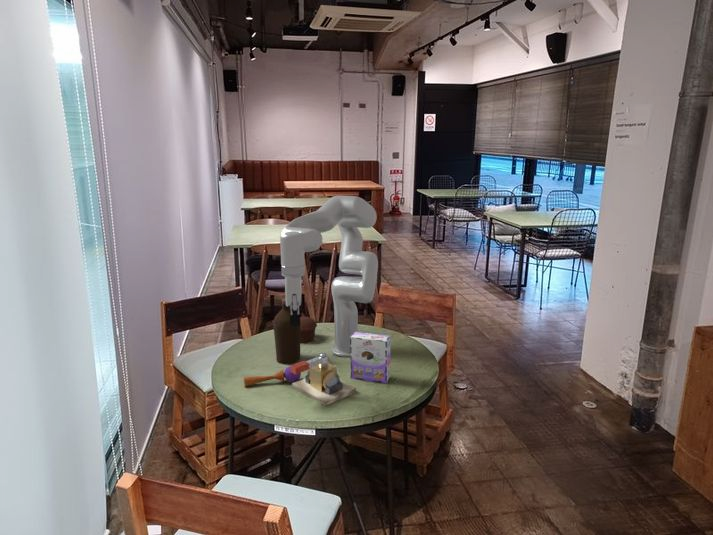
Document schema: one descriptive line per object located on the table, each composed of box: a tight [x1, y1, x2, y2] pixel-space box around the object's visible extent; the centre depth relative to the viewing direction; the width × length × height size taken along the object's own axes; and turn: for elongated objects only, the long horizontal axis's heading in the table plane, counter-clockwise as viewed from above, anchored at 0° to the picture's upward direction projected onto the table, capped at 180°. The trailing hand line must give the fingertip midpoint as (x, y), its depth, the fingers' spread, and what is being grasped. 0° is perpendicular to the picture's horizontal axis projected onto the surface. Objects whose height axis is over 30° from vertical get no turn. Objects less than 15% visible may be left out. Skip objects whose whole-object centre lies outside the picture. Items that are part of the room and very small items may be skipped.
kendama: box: [243, 365, 302, 387], centre depth 176 cm, size 6×6×20 cm
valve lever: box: [289, 352, 329, 375], centre depth 165 cm, size 14×3×4 cm, turn 134°
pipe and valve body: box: [304, 362, 343, 395], centre depth 170 cm, size 7×13×7 cm, turn 44°
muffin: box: [300, 316, 318, 345], centre depth 214 cm, size 12×11×10 cm
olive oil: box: [272, 297, 301, 365], centre depth 192 cm, size 11×11×25 cm
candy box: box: [349, 331, 391, 384], centre depth 178 cm, size 14×6×16 cm, turn 71°
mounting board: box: [291, 377, 357, 407], centre depth 171 cm, size 14×18×2 cm
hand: (295, 322), depth 164 cm, fingers open, 4 cm apart
